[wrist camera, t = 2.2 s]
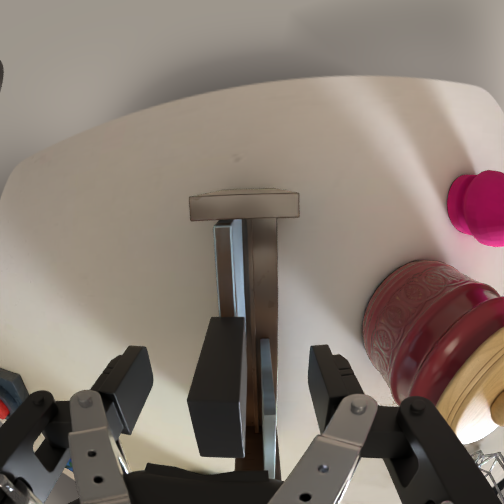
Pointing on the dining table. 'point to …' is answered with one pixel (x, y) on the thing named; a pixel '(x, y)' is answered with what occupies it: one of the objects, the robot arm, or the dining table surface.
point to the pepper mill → (479, 206)
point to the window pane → (223, 356)
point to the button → (3, 410)
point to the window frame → (256, 308)
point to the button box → (12, 390)
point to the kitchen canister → (440, 344)
